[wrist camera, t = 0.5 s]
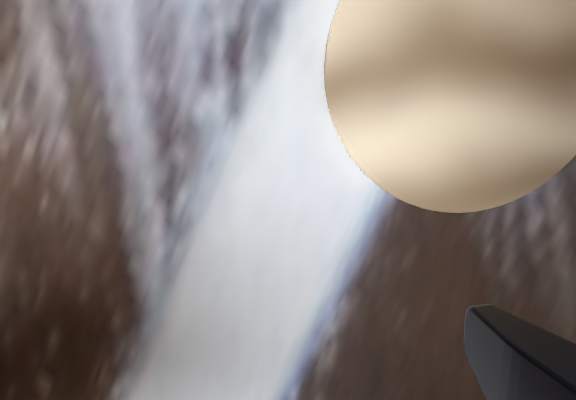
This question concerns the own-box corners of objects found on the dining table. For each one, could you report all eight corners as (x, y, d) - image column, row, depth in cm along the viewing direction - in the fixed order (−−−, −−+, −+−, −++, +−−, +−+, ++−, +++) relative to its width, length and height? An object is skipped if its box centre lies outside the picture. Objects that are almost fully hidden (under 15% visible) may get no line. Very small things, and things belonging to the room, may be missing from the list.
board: (616, 170, 23) (625, 172, 23) (357, 239, 23) (360, 243, 23) (603, -136, 19) (614, -142, 19) (292, -55, 19) (293, -59, 19)
